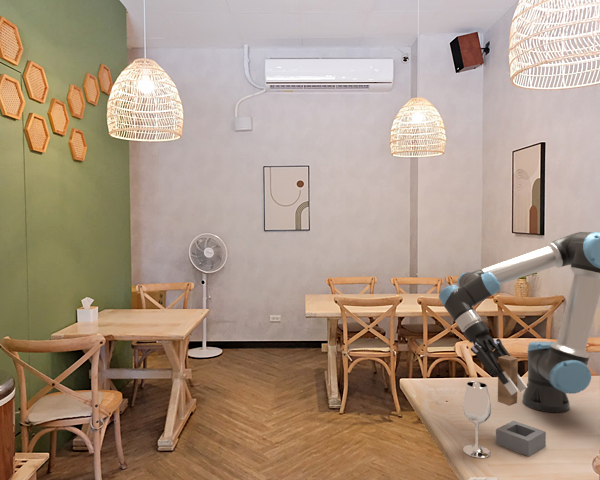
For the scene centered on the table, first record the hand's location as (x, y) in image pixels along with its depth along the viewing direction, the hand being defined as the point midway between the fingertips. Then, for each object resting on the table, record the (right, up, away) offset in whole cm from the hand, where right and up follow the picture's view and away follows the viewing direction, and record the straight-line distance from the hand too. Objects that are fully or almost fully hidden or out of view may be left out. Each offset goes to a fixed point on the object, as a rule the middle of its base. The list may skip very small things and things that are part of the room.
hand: (519, 390), depth 141 cm
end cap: (0, -16, -1) cm, 16 cm away
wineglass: (-15, -17, -5) cm, 23 cm away
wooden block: (-2, -5, +3) cm, 6 cm away
